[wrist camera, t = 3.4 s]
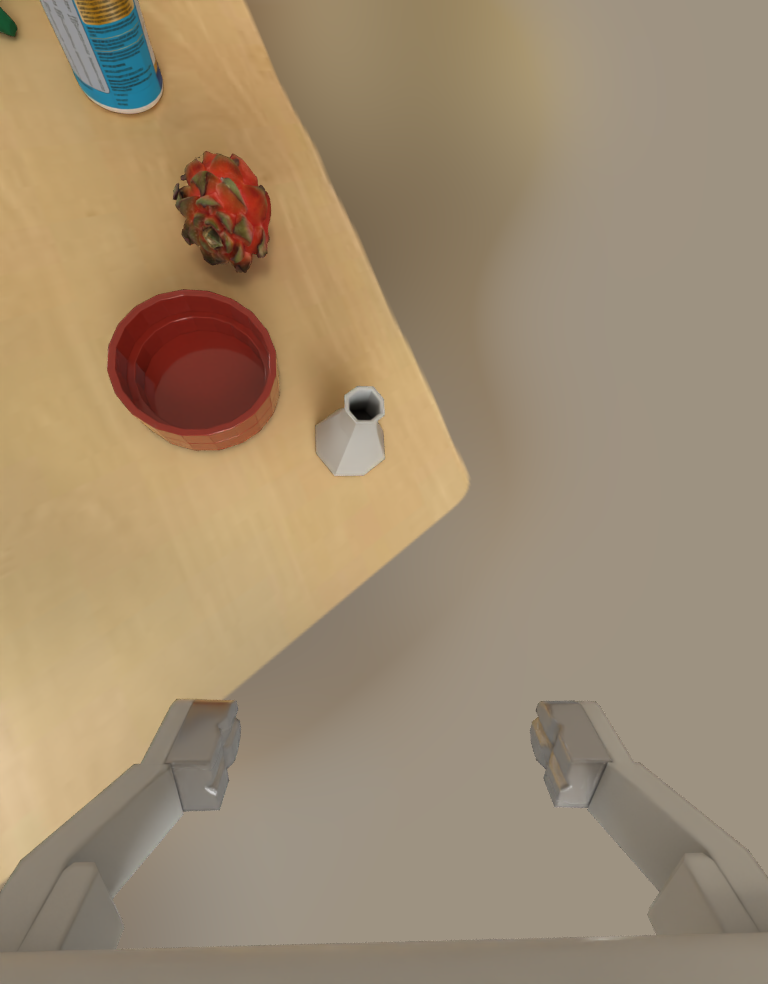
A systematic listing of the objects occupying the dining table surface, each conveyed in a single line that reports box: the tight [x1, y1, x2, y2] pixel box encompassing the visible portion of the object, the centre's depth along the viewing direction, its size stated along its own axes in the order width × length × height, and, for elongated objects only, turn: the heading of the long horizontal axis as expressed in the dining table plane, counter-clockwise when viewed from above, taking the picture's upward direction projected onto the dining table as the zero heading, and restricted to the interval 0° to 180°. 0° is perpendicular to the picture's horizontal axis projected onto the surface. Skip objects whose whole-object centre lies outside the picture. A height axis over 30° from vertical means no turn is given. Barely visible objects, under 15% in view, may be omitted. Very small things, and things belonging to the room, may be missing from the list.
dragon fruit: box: [173, 151, 271, 273], centre depth 38 cm, size 8×8×12 cm
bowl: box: [107, 289, 280, 450], centre depth 35 cm, size 13×13×5 cm
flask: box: [315, 386, 385, 476], centre depth 35 cm, size 7×7×10 cm
